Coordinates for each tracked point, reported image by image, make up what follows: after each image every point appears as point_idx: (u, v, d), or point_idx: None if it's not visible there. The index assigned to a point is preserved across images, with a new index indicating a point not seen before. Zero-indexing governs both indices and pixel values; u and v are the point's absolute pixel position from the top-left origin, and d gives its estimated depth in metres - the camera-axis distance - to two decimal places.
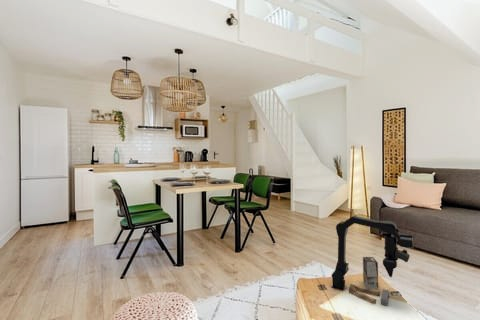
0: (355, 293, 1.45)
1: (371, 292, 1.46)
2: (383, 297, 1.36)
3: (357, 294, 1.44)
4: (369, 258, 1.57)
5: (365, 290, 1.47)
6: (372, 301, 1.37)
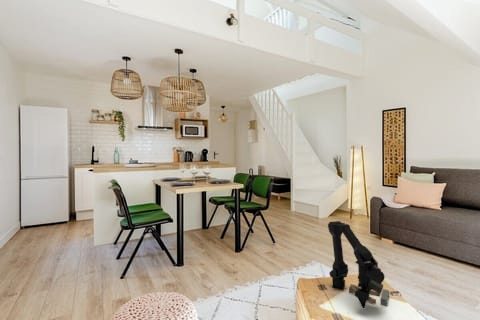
0: None
1: (371, 292, 1.46)
2: (383, 297, 1.36)
3: None
4: None
5: None
6: (372, 301, 1.37)
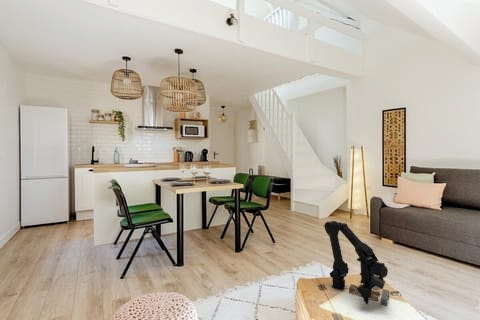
0: (356, 293, 1.45)
1: None
2: (383, 297, 1.36)
3: (359, 293, 1.44)
4: (369, 258, 1.57)
5: None
6: (375, 298, 1.39)
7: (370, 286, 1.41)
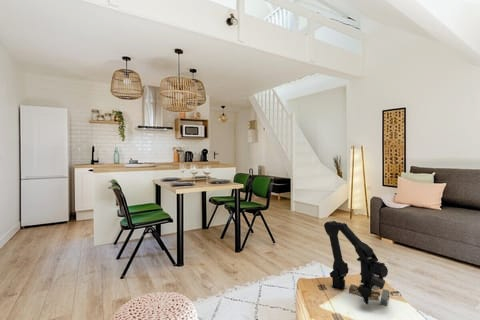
0: (357, 292, 1.45)
1: None
2: (383, 297, 1.36)
3: (359, 293, 1.45)
4: (369, 258, 1.57)
5: None
6: (376, 297, 1.40)
7: (370, 285, 1.41)
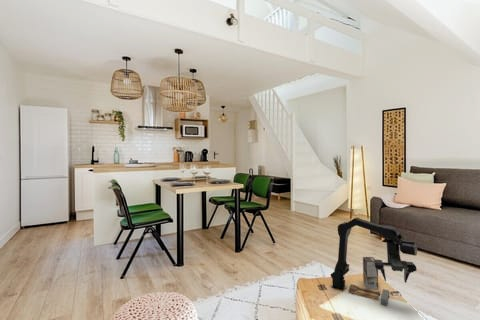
0: (357, 292, 1.45)
1: (371, 292, 1.46)
2: (383, 297, 1.36)
3: (359, 293, 1.45)
4: (369, 258, 1.57)
5: (365, 290, 1.47)
6: (376, 297, 1.40)
7: (405, 271, 1.32)
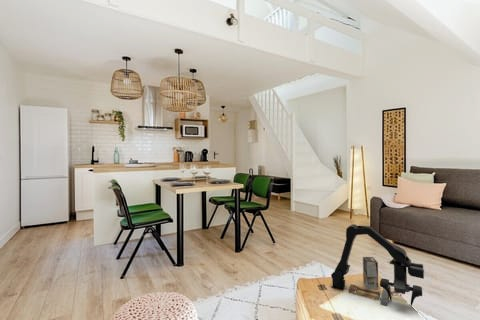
0: (357, 292, 1.45)
1: (371, 292, 1.46)
2: (383, 297, 1.36)
3: (359, 293, 1.45)
4: (369, 258, 1.57)
5: (365, 290, 1.47)
6: (376, 297, 1.40)
7: None
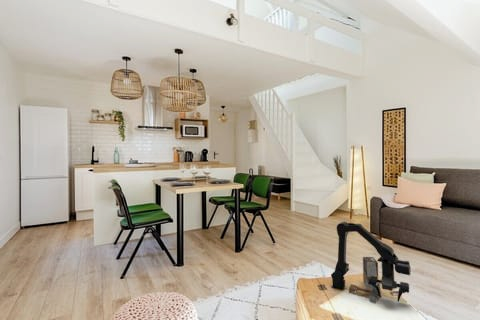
0: (357, 292, 1.45)
1: None
2: (372, 295, 1.39)
3: (359, 293, 1.45)
4: (369, 258, 1.57)
5: (365, 290, 1.47)
6: (376, 297, 1.40)
7: (398, 291, 1.35)
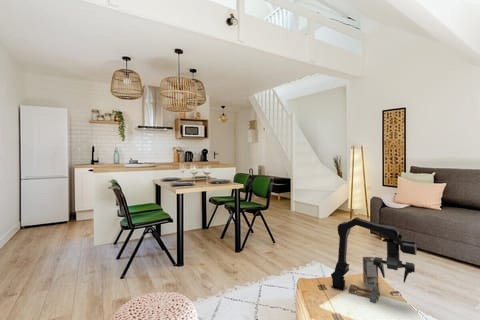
0: (357, 292, 1.45)
1: None
2: (372, 295, 1.39)
3: (359, 293, 1.45)
4: (369, 258, 1.57)
5: (365, 290, 1.47)
6: (376, 297, 1.40)
7: None
